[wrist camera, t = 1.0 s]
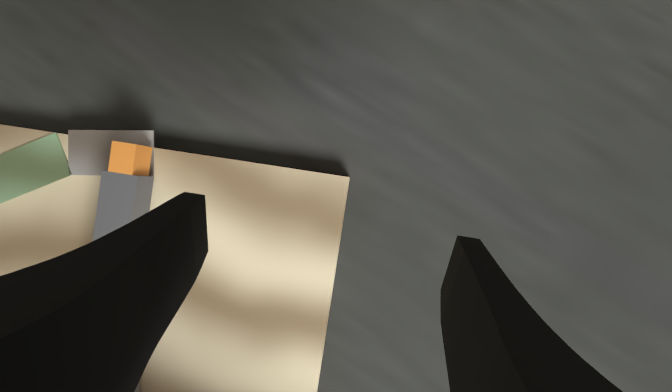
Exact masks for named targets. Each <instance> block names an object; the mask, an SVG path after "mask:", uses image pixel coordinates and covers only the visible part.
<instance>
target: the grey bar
mask: <svg viewBox="0 0 672 392" xmlns="http://www.w3.org/2000/svg"><path fill="white" fill-rule="evenodd" d="M152 148H153V147H148V146H143V145H137V144H131V143H124V142H118V141H112V144H111V152H110V159H109V166H108V171H103V170H102V173H101V180H100V188H99V195H98V203H97V210H96V217H95V225H94V232H93V240H92V241H94V240H96V239H98V238H100V237H102V236H104V235H106V234H108V233H110V232H112V231H114V230H116V229H118V228H120V227H122V226H124V225H126V224H128V223H130V222H131V221H133V220H135V219H137V218H138V217H140V216H142V215H144V214H146V213H147V212H149V211H150V204H151V196H152V189H153V182H154V176H149V170H150V162H151V155H152ZM135 392H140V382H139V383H138V385H137V387H136V389H135Z"/></svg>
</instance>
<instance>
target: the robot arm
mask: <svg viewBox="0 0 672 392" xmlns="http://www.w3.org/2000/svg"><path fill="white" fill-rule="evenodd" d="M207 253H208V235H207V218H206V201H205V195H202V194H196V193H189V192H183V193H181V194H179V195H177V196H175V197H174V198H172V199H170V200H168V201H166V202H165V203H163V204H161V205H160V206H158V207H156V208H154V209H153V210H151V211H149V212H147V213H146V214H144V215H142V216H140V217H138V218H137V219H135V220H133V221H131V222H130V223H128V224H126V225H124V226H122V227H120V228H118V229H116V230H114V231H112V232H110V233H108V234H106V235H104V236H102V237H100V238H98V239H96V240H94V241H92V242H90V243H88V244H86V245H84V246H81V247H79V248H77V249H74V250H72V251H69V252H67V253H65V254H62V255H60V256H57V257H55V258H52V259H49V260H47V261H44V262H41V263H38V264H35V265H32V266H29V267H26V268H23V269H20V270H17V271H14V272H11V273H8V274H5V275H1V276H0V392H135V389H136V387H137V385H138V383H139V381H140V379H141V376H142V374H143V372H144V370H145V368H146V366H147V364H148V362H149V359H150V357H151V355H152V354H153V352H154V350H155V348H156V346H157V344H158V343H159V341H160V339H161V338H162V336H163V334H164V333H165V331H166V329H167V328H168V326H169V324H170V323H171V321H172V320H173V318H174V316H175V315H176V313H177V311H178V310H179V308H180V306H181V305H182V303H183V301H184V300H185V298H186V296H187V295H188V293H189V291H190V290H191V288H192V286H193V284H194V283H195V281H196V279H197V277H198V275H199V272H200V270H201V268H202V265H203V263H204V260H205V258H206V256H207ZM441 327H442V335H443V343H444V350H445V357H446V364H447V371H448V378H449V385H450V392H622V391H621V390H620V389H619V388H617V387H616V386H615V385H613V384H612V383H611V382H610V381H608V380H607V379H606V378H605V377H603V376H602V375H601V374H600V373H599V372H598V371H596V370H595V369H594V368H593V367H592V366H590V365H589V364H588V363H587V362H586V361H585V360H583V359H582V358H581V357H580V356H579V355H578V354H577V353H576V352H575V351H573V350H572V349H571V348H570V347H569V346H568V345H567V344H566V343H565V342H564V341H563V340H562V339H561V338H560V337H559V336H558V335H557V334H556V333H555V332H554V331H553V330H552V329H551V328H550V327H549V326H548V325H547V324H546V323H545V322H544V321H543V320H542V319H541V317H540V316H539V315H538V314H537V313H536V312H535V311H534V309H533V308H532V307H531V306H530V305H529V304H528V303H527V301H526V300H525V299H524V298H523V297H522V295H521V294H520V293H519V292H518V290H517V289H516V288H515V287H514V285H513V284H512V283H511V281H510V280H509V279H508V278H507V276H506V275H505V274H504V272H503V271H502V269H501V268H500V267H499V265H498V264H497V263H496V261H495V260H494V258H493V257H492V256H491V254H490V253H489V251H488V250H487V249H486V247H485V246H484V244H483V243H482V242H481V240H480V239H476V238H470V237H463V236H457V239H456V242H455V245H454V248H453V252H452V255H451V258H450V261H449V264H448V268H447V271H446V274H445V277H444V281H443V284H442V287H441Z"/></svg>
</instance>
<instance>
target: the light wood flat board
mask: <svg viewBox="0 0 672 392" xmlns="http://www.w3.org/2000/svg"><path fill="white" fill-rule="evenodd" d="M112 141H118V142H124V143H131V144H137V145H143V146H148V147H153V148H152V155H151V162H150V170H149V176H154V182H153V189H152V196H151V204H150V211H151V210H153V209H154V208H156V207H158V206H160V205H161V204H163V203H165V202H166V201H168V200H170V199H172V198H174V197H175V196H177V195H179V194H181V193H183V192H189V193H196V194H202V195H205V201H206V218H207V235H208V253H207V256H206V258H205V260H204V263H203V265H202V268H201V270H200V272H199V275H198V277H197V279H196V281H195V283H194V284H193V286H192V288H191V290H190V291H189V293H188V295H187V296H186V298H185V300H184V301H183V303H182V305H181V306H180V308H179V310H178V311H177V313H176V315H175V316H174V318H173V320H172V321H171V323H170V324H169V326H168V328H167V329H166V331H165V333H164V334H163V336H162V338H161V339H160V341H159V343H158V344H157V346H156V348H155V350H154V352H153V354H152V355H151V357H150V359H149V362H148V364H147V366H146V368H145V370H144V372H143V374H142V376H141V379H140V381H139V382H140V392H317V389H318V383H319V376H320V370H321V363H322V357H323V350H324V344H325V337H326V330H327V324H328V317H329V311H330V304H331V298H332V291H333V285H334V278H335V271H336V265H337V258H338V252H339V245H340V239H341V232H342V226H343V219H344V212H345V206H346V199H347V193H348V186H349V180H350V177H345V176H338V175H332V174H325V173H319V172H312V171H305V170H299V169H292V168H286V167H279V166H272V165H266V164H259V163H252V162H246V161H239V160H233V159H226V158H219V157H213V156H206V155H200V154H193V153H186V152H180V151H173V150H167V149H160V148H154V131H153V130H68V135H67V134H61V133H57V132H55V133H54V132H47V131H41V130H34V129H28V128H21V127H14V126H8V125H1V124H0V276H1V275H5V274H8V273H11V272H14V271H17V270H20V269H23V268H26V267H29V266H32V265H35V264H38V263H41V262H44V261H47V260H49V259H52V258H55V257H57V256H60V255H62V254H65V253H67V252H69V251H72V250H74V249H77V248H79V247H81V246H84V245H86V244H88V243H90V242H92V240H93V232H94V225H95V217H96V210H97V203H98V195H99V188H100V180H101V173H102V170H103V171H108V166H109V159H110V152H111V144H112Z"/></svg>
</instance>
